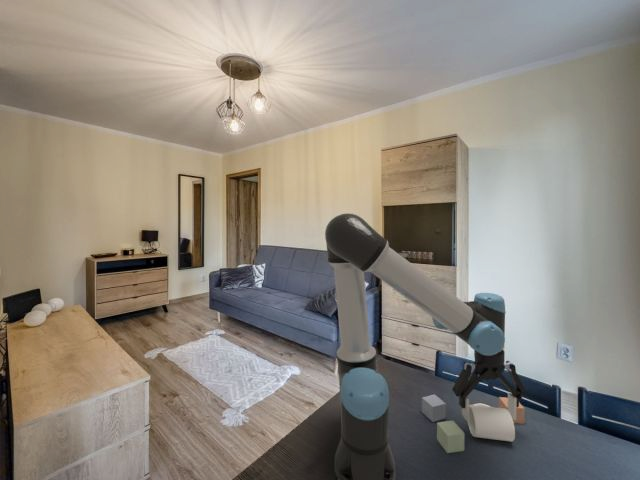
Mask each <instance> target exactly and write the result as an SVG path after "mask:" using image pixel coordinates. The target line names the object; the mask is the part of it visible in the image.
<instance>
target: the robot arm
mask: <svg viewBox="0 0 640 480" xmlns="http://www.w3.org/2000/svg"><path fill="white" fill-rule="evenodd" d="M324 234H325V235H324V236H325V238H324V239H325V243H326V254H327V262H328V265H330V266H331V267H333V273H334V283H335V293H336V294H335V295H336V303H337V315H338V316H337V318H338V324H339V325H338V326H339V336H340V339H339V340H340V347H338V348H337V351H336V360H337V362H336V363H337V375H338V380H339V381H338V383H339V386H338V387H339V395H340V396H339V397H340V398H339V399H340V425H341V426H340V433H341V434H340V439H339V441H338V442H339V443H338V445H337V448H336V451H335V455H334V474H335V473H336V474H335V477H336V476H337V477H336V479H337V478H338V479H339V480H396V463H395V459H394V455H393V453H392V449H391V446H390V444H389V403H390V393H389V386H388V383H387V380H386V379H385V377H384V376H383V375H382V374H381V373H379V371H378V362H377V361H378V360H377V350H376V348H375V347H374V346H373V345H371V340H370V328H369V317H368V305H367V293H366V281H365V273H369V272H370V273H371V274H372V275H374V276H376V277H377V278H378V279H380V281H382V282H383V283H385V284H386V285H388V286H389V287H390V288H392V289H393V290H394V291H396V293H397V292H398V293H399V294H400V295H401V296H403V297H404V298H405V299H407V300H408V301H410V302H411V303H412V304H413V305H414V306H416V307H417V308H419V309H420V310H422V311H423V312H424V313H426V314H427V315H428V316H430V318H432V322H433V324H434V326H435V327H436V328H437V329H439V330H449V331H450V332H451V333H453V334H454V335H455V336H456V337H458V338H459V339H461V340H462V341H463V342H464V343H466V344H467V345H468V346H469V347H470V348H471V349H472V350H473V351H474V354H473V355H474V357H473V358H474V363H469V362H467V361H463V364H462V369H461V371H460V373H459V375H458V377H457V379H456V380H455V381H456V382H455V383H454V385H453V386H452V390H451V391H452V392H453V394H454V395H455V396H456V397H458V404H459V406H460V407H461V416H463V418H464V420H465V421H467V422H468V421H469V405H470V399H469V397H468V396H469V395H470V394H471V393H472V391H473V390H474V389H475V388H476V387H477V386H478V385H479V384H480V383H482V382H483V381H489V380H492V381H496V380H497V379H499V380H500V382H502V384H503V385H504V386H505V387H506V388H507V390H509V391H510V392H507V398H508V411H509V413H510V415H511V417H512V419H513V420H516V407H519V403H520V400H522V399H523V396H527V391H526V389H525V387H524V385H523V383H522V381H521V380H520V378H519V375H518V374H517V371H516V370H517V368H516V365H515V364H513V362H511V361H510V360H506V361H505V343H506V337H505V334H506V333H505V332H506V331H505V330H506V329H505V328H506V304H505V299H504V297H503V296H501V295H499V294H495V293H492V292H491V293H490V292H479V293H476V294H475V295H474V298H473V301H463V300H461V299H460V298H458V297H457V296H455V295H454V293H452V292H451V291H449V290H447V288H445V287H444V286H442V284H440V283H438V282H437V281H436V280H434V279H433V278H432V277H431V276H429V275H428V274H426V273H425V272H423V271H422V270H421V269H419V268H418V267H417V266H415V265H414V264H413V263H412V262H410V261H409V260H407V259H406V258H404V257H403V256H402V255H401V254H399V253H398V252H397V251H395V249H393V248H391V247H390V243H389V241H388V239H387V238H385V237H383V236H382V235H381V234H380V233H379V232H377V230H375V229H374V228H373V227H372V226H371V225H370V224H369V223H368V222H367V221H365V220H364V219H363V218H362V217H361V216H359V215H357V214H354V213H341V214H338V215H336V216H334V217H333V218H331V220H330V221H329V222H328V224H327V226H326V228H325V231H324ZM505 370H506V371H507V373H508V375H509V377H510V379H511V380H512V383H513V385H514V386H513V385H512V384H511V383H510V382H509V380H507V378H506V377H505V376H504V375H503V372H504V371H505ZM338 479H337V480H338Z"/></svg>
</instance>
